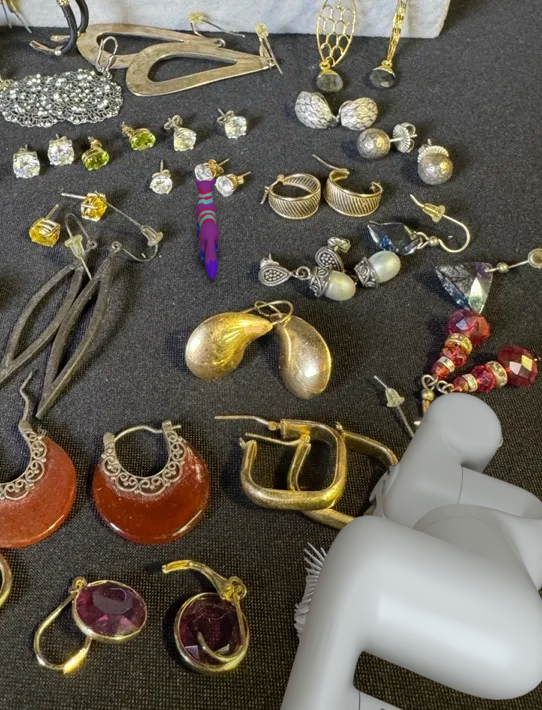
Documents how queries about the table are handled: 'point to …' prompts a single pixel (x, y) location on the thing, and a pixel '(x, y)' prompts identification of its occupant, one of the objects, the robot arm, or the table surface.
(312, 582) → the shell sculpture
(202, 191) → the purple striped elongated piece
